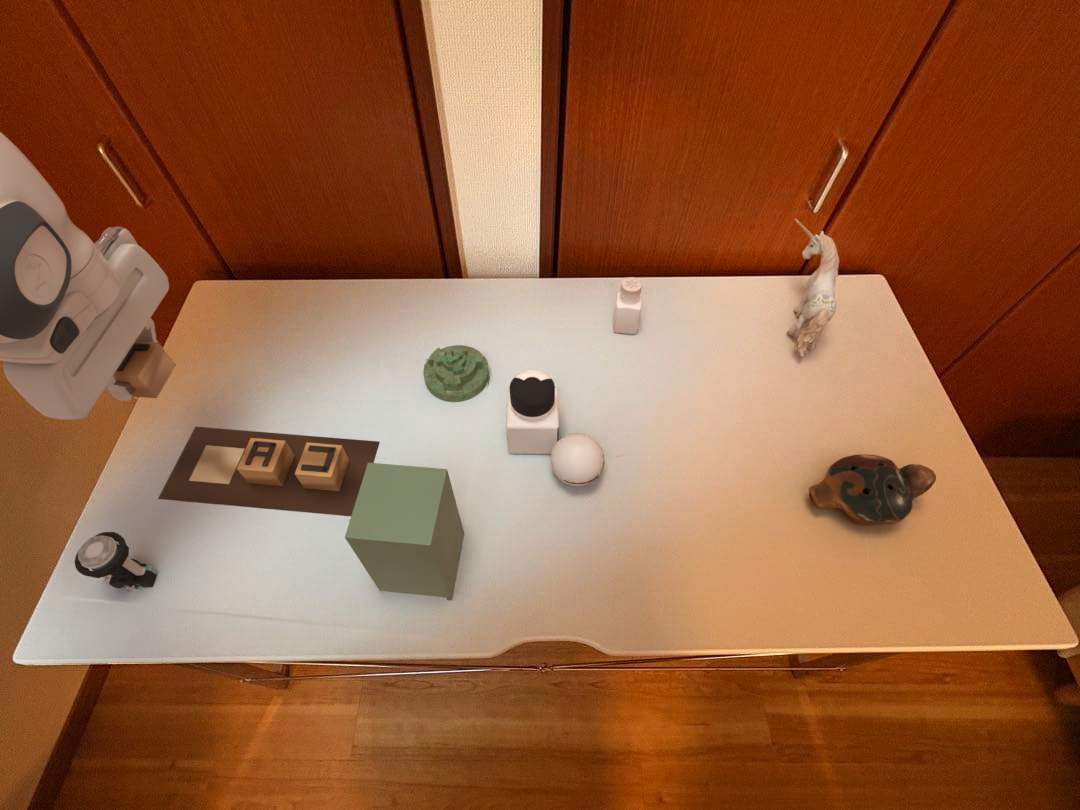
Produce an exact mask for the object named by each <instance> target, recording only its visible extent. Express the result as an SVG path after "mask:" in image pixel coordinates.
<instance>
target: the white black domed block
mask: <svg viewBox="0 0 1080 810" xmlns="http://www.w3.org/2000/svg"><path fill="white" fill-rule="evenodd" d="M559 395H560V393H559V387H558V386H555V381H554V380H553V378H552V377H551V376H550V375H549V374H547V373H545V372H543V371H541V370H537V369H528V370H524V371H522V372H521V371H520V372H519V373H518V374H516V375H515V376H514V377H513V378H512V379H511V381H510V383H509V386H508V389H507V403H506V404H507V405H506V422H505V423H506V424H505V428H506V439H507V449H508V453H509V454H511V455H551V453H552V450H553V447H554V446H555V444H556V442H558V441H559V438H560V437H559V435H560V433H559V431H560V423H559V422H560V417H559V416H560V415H559V413H560V410H559V409H560V407H559V406H560V405H559V404H560V402H559V401H560V400H559Z"/></svg>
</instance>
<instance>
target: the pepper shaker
mask: <svg viewBox="0 0 1080 810" xmlns="http://www.w3.org/2000/svg"><path fill="white" fill-rule="evenodd" d="M642 288H643V284H642V281H641V280H640V279H639V278H637V277H634V276H629V277H625V278H624V279H622V281H621V283H620V290H619V291H618V292H617V293H616V301H615V309H614V317H613V326H612V327H613V332H614V333H617V334H626V335H636V334H637V333H638V328H639V324H640V318H641V314H642V306H643V295H642Z"/></svg>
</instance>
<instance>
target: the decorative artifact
mask: <svg viewBox="0 0 1080 810" xmlns="http://www.w3.org/2000/svg"><path fill="white" fill-rule="evenodd" d="M423 379H424V383H425V386H426V388H427V390H428V391H429V393H430V394H431V395H432V396H434V397H435V398H436V399H438V400H440V401H444V402H448V403H460V402H465V401H466V402H467V401H468V400H471V399H474V398H475V397H477V396H478V395H479V394H480V393H482V392H483V391H484V390H485V388H489V385H490V380H491V378H490V368H489V362H488V360H487V358H486V356H485V355H484V354H483V353H482V352H480V351H479V350H478V349H477V348H474V347H472V346H468V345H463V344H456V345H455V344H454V345H449V346H445V347H442V348H440V347H437V348H436V349H434V351H432V353H431V354H430V355H429V357H428V359H427V360H426V362H425V364H424V366H423Z"/></svg>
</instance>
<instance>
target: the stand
mask: <svg viewBox="0 0 1080 810" xmlns="http://www.w3.org/2000/svg"><path fill="white" fill-rule="evenodd" d="M464 536H465V531H464V527H463V524H462V519H461V516H460V512H459V508H458V504H457V500H456V497H455V493H454V490H453V486H452V482H451V478H450V474H449V470H448V469H447V468H439V467H428V466H427V467H426V466H415V465H413V466H412V465H402V464H390V463H379V462H374V463H368V464H367V467H366V470H365V474H364V477H363V480H362V483H361V487H360V490H359V493H358V496H357V500H356V503H355V506H354V509H353V513H352V516H350V519H349V523H348V525H347V528H346V532H345V535H344V539H345V540H346V542H347V544H349V546H350V548H351V550H352V551H353V552H354V554H355V555H356V557H357V559H358V560H359V562H360V563H361V565H362V566H363V568H364V569H365V571H366V572H367V574H368V576H369V577H370V578H371V579H372V581H373V583H374V584H375V586H376V588H377V589H378V591H379V592H387V593H394V594H395V593H397V594H405V595H406V594H407V595H415V596H416V595H417V596H428V597H438V598H446V601H452V600H453V597H454V596H453V595H454V591H455V585H456V580H457V575H458V569H459V563H460V559H461V553H462V548H463V544H464V543H463V542H464Z"/></svg>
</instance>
